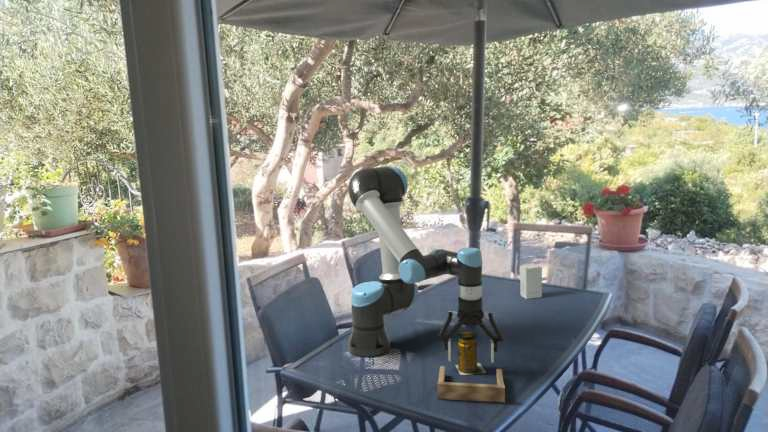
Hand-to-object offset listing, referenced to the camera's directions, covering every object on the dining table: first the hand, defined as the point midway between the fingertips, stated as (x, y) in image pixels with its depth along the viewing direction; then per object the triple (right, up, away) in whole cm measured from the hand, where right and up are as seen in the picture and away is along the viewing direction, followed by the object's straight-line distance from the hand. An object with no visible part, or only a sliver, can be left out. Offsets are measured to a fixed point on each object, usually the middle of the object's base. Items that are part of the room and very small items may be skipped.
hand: (470, 360), depth 160 cm
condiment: (0, -3, +1) cm, 4 cm away
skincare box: (+40, +9, +70) cm, 81 cm away
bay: (-2, -5, -11) cm, 12 cm away
